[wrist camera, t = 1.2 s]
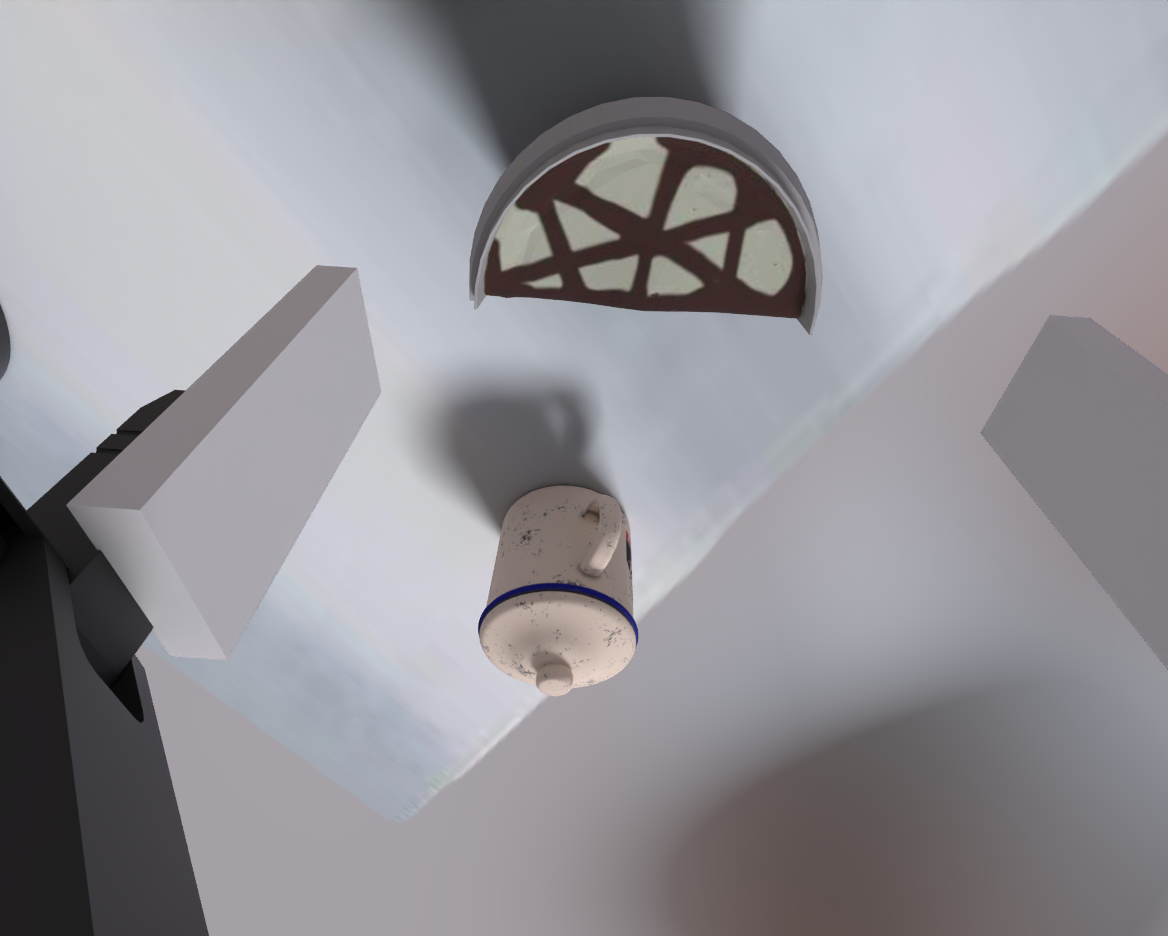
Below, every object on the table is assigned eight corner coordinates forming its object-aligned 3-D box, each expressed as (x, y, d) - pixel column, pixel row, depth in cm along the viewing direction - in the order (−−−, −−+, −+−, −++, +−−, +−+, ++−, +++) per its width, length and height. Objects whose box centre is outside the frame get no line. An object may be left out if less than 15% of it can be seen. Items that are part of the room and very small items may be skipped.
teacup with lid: (599, 587, 44) (596, 743, 35) (482, 551, 42) (447, 707, 33) (680, 476, 37) (701, 636, 28) (543, 425, 35) (520, 581, 26)
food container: (807, 77, 24) (902, 127, 16) (767, 235, 28) (827, 336, 20) (497, 52, 23) (441, 89, 16) (501, 214, 27) (458, 308, 20)
